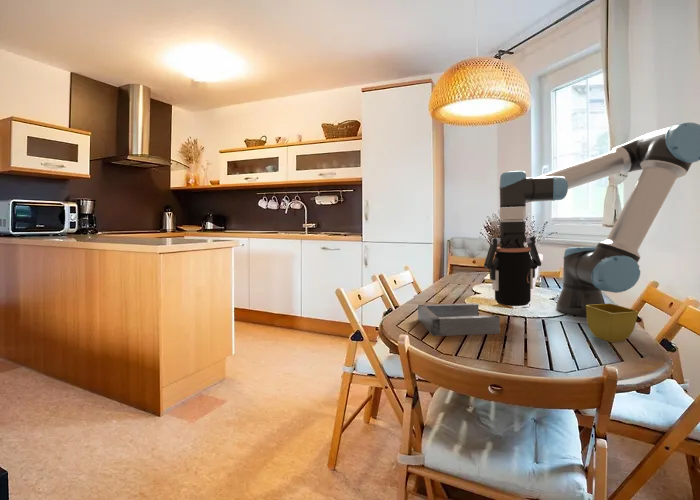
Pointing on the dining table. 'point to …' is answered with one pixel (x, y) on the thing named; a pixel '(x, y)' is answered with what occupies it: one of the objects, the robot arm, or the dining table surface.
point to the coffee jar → (514, 276)
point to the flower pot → (611, 321)
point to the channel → (457, 320)
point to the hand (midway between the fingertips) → (512, 288)
